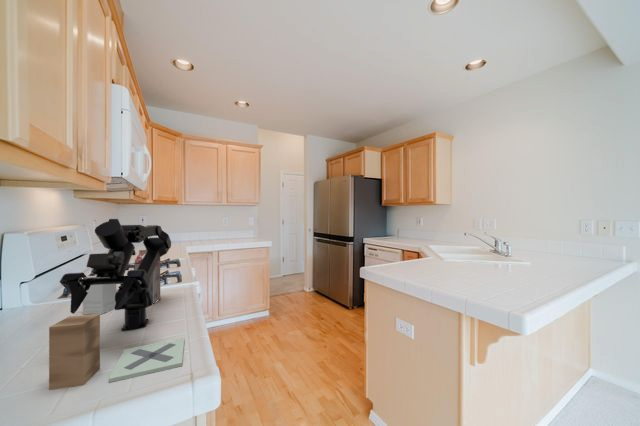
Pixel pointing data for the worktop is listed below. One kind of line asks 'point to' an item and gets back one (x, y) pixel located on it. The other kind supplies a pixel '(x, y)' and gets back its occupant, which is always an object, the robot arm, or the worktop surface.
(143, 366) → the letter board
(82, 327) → the walnut block
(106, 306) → the supplement box
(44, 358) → the worktop surface
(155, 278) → the juice carton
